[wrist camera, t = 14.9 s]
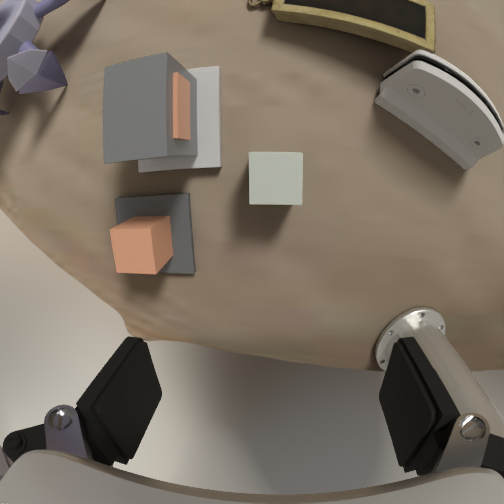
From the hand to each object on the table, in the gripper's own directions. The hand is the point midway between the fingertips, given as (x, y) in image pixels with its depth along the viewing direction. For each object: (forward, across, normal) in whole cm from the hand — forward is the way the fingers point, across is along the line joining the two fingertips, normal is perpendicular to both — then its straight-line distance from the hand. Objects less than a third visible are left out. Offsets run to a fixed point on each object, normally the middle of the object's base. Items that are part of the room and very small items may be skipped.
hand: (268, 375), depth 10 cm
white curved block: (+26, -21, -15) cm, 36 cm away
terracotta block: (+24, +15, +1) cm, 28 cm away
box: (+25, -9, -27) cm, 38 cm away
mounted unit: (+24, +11, -13) cm, 30 cm away
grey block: (+25, 0, -6) cm, 26 cm away
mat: (+25, +15, +1) cm, 29 cm away
